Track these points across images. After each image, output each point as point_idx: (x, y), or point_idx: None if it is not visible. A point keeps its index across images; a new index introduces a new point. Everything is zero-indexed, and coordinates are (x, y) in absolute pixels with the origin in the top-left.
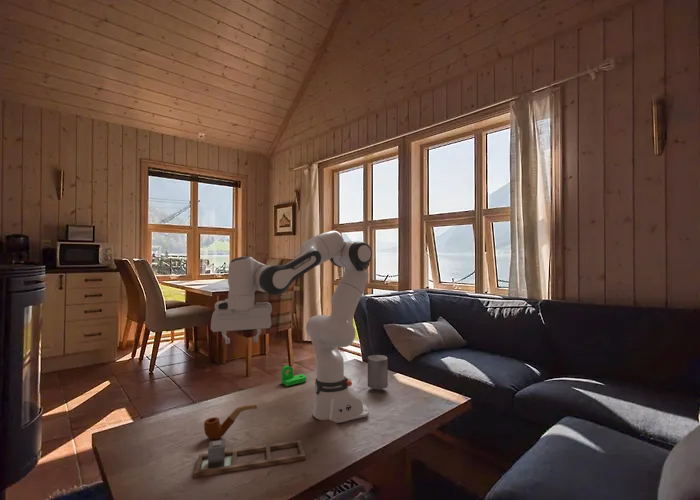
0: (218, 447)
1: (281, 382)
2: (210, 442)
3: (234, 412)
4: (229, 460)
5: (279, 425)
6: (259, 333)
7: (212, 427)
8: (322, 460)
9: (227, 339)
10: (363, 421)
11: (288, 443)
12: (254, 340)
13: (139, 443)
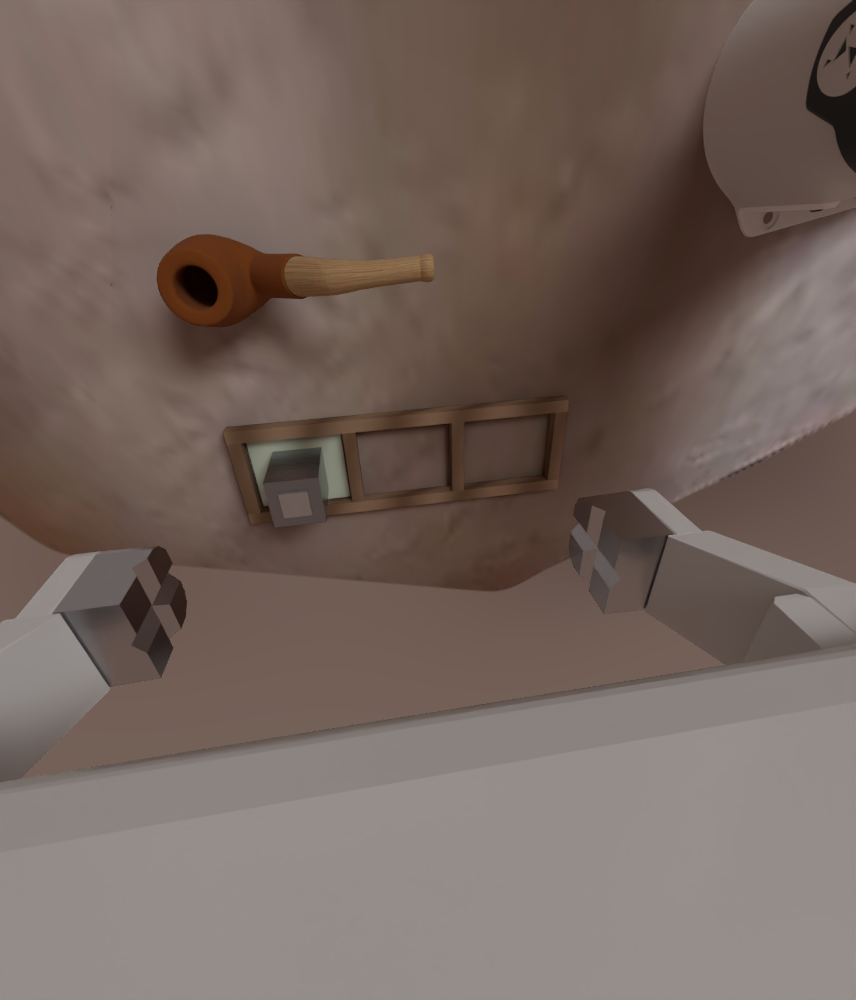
0: (307, 523)
1: None
2: (267, 490)
3: (313, 291)
4: (337, 457)
5: (517, 210)
6: (741, 654)
7: (219, 326)
8: (594, 492)
9: (122, 679)
10: (838, 270)
11: (526, 413)
12: (589, 573)
13: None
